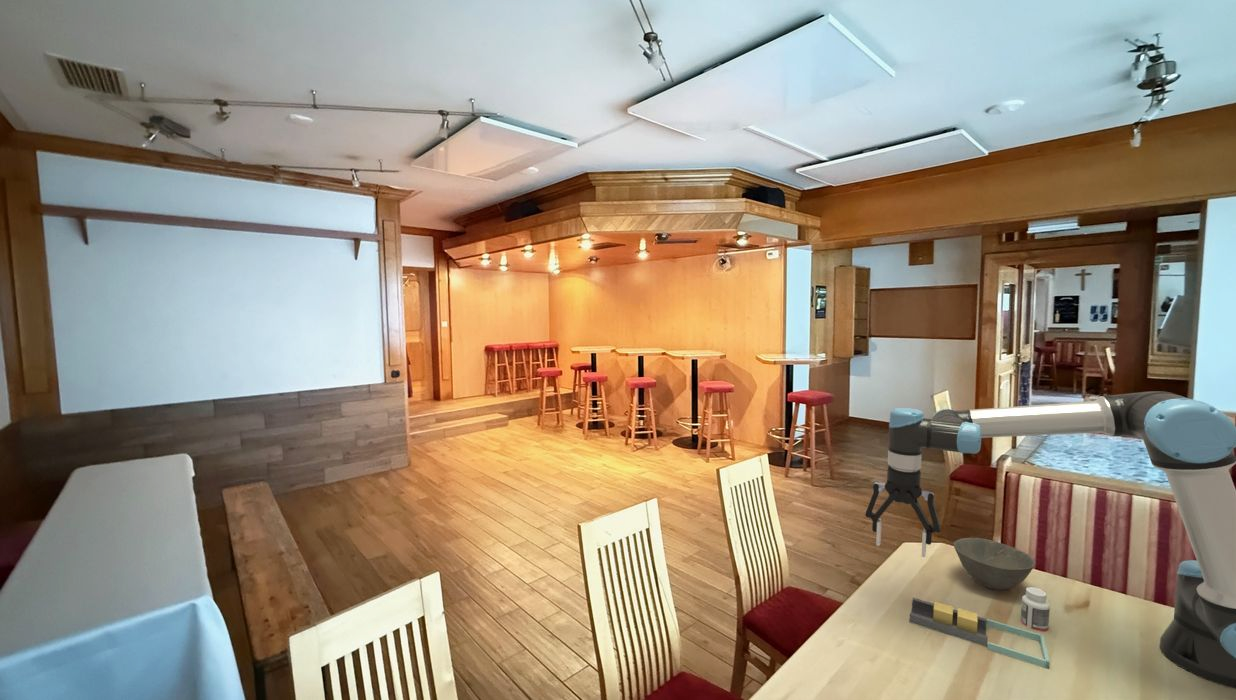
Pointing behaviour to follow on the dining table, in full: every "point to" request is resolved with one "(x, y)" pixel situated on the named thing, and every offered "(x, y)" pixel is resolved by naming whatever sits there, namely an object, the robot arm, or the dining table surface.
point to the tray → (1018, 654)
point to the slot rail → (924, 617)
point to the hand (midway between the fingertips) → (900, 549)
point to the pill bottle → (1035, 609)
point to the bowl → (993, 562)
